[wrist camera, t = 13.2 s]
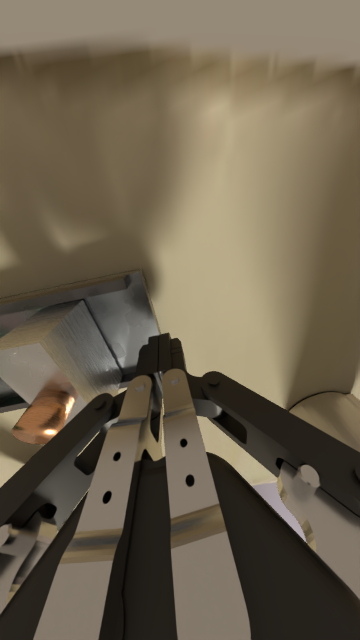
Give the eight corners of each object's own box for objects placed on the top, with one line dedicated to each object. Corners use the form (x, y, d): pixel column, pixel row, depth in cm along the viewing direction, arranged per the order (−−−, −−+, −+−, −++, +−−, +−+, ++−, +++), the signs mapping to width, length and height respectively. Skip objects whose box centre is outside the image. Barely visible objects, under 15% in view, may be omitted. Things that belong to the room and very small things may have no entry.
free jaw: (82, 299, 12) (8, 372, 6) (122, 374, 16) (99, 461, 10) (42, 308, 12) (-70, 388, 6) (92, 381, 16) (52, 471, 10)
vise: (141, 268, 13) (127, 300, 7) (169, 363, 18) (173, 420, 13) (-164, 333, 13) (-381, 407, 8) (-50, 407, 18) (-134, 482, 13)
